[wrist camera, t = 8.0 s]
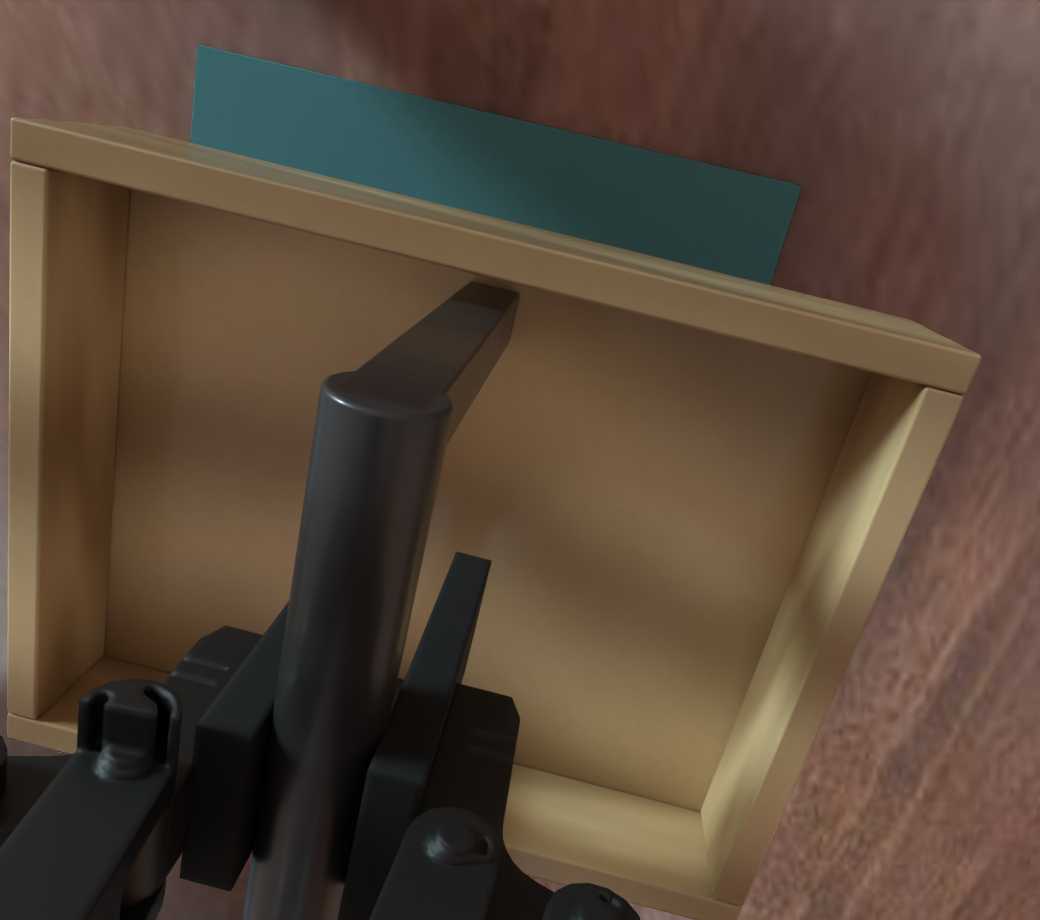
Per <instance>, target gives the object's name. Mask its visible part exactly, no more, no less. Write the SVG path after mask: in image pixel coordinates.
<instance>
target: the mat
mask: <svg viewBox="0 0 1040 920" xmlns="http://www.w3.org/2000/svg"><path fill="white" fill-rule="evenodd" d="M191 143H194V144H198V145H202V146H206V147H210V148H214V149H218V150H222V151H226V152H230V153H234V154H238V155H243V156H247V157H251V158H255V159H259V160H263V161H267V162H271V163H275V164H279V165H283V166H287V167H291V168H295V169H300V170H304V171H308V172H312V173H316V174H320V175H324V176H328V177H332V178H336V179H340V180H344V181H348V182H352V183H356V184H361V185H365V186H369V187H373V188H377V189H381V190H385V191H389V192H393V193H397V194H401V195H405V196H409V197H413V198H418V199H422V200H426V201H430V202H434V203H438V204H442V205H446V206H450V207H454V208H458V209H462V210H466V211H470V212H474V213H479V214H483V215H487V216H491V217H495V218H499V219H503V220H507V221H511V222H515V223H519V224H523V225H527V226H531V227H535V228H540V229H544V230H548V231H552V232H556V233H560V234H564V235H568V236H572V237H576V238H580V239H584V240H588V241H592V242H597V243H601V244H605V245H609V246H613V247H617V248H621V249H625V250H629V251H633V252H637V253H641V254H645V255H649V256H653V257H658V258H662V259H666V260H670V261H674V262H678V263H682V264H686V265H690V266H694V267H698V268H702V269H706V270H710V271H715V272H719V273H723V274H727V275H731V276H735V277H739V278H743V279H747V280H751V281H755V282H759V283H763V284H767V285H770V284H771V281H772V278H773V274H774V271H775V268H776V265H777V262H778V259H779V256H780V253H781V250H782V247H783V244H784V240H785V237H786V234H787V231H788V228H789V225H790V222H791V219H792V216H793V213H794V210H795V207H796V203H797V200H798V197H799V194H800V191H801V188H802V186H801V185H797V184H793V183H789V182H784V181H780V180H776V179H772V178H767V177H763V176H759V175H754V174H750V173H746V172H742V171H737V170H733V169H729V168H725V167H720V166H716V165H712V164H707V163H703V162H699V161H695V160H690V159H686V158H682V157H677V156H673V155H669V154H665V153H660V152H656V151H652V150H647V149H643V148H639V147H635V146H630V145H626V144H622V143H617V142H613V141H609V140H605V139H600V138H596V137H592V136H587V135H583V134H579V133H575V132H570V131H566V130H562V129H557V128H553V127H549V126H545V125H540V124H536V123H532V122H528V121H523V120H519V119H515V118H510V117H506V116H502V115H498V114H493V113H489V112H485V111H480V110H476V109H472V108H468V107H463V106H459V105H455V104H450V103H446V102H442V101H438V100H433V99H429V98H425V97H420V96H416V95H412V94H408V93H403V92H399V91H395V90H390V89H386V88H382V87H378V86H373V85H369V84H365V83H361V82H356V81H352V80H348V79H343V78H339V77H335V76H331V75H326V74H322V73H318V72H313V71H309V70H305V69H301V68H296V67H292V66H288V65H283V64H279V63H275V62H271V61H266V60H262V59H258V58H253V57H249V56H245V55H241V54H236V53H232V52H228V51H223V50H219V49H215V48H211V47H206V46H202V45H197V58H196V72H195V87H194V101H193V115H192V129H191Z"/></svg>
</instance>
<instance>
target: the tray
mask: <svg viewBox="0 0 1040 920" xmlns="http://www.w3.org/2000/svg"><path fill="white" fill-rule="evenodd" d="M10 155H11V158H12V159H14V160H15V161H12V162H11V164H10V317H9V473H8V629H7V711H8V712H9V713H8V715H7V736H8V737H9V738H11V739H15V740H19V741H23V742H26V743H30V744H34V745H38V746H42V747H45V748H49V749H53V750H57V751H60V752H64V753H68V754H74V753H75V751H76V750H77V733H78V710H79V700H80V699H81V698H82V697H83V696H85V695H86V694H87V693H88V692H90V691H91V690H92V689H94V688H97V687H99V686H101V685H104V684H106V683H109V682H112V681H118V680H125V679H131V678H132V679H145V680H153V681H156V682H159V683H162V682H163V681H164V679H165V678H166V677H167V676H168V675H171V672H172V670H173V669H174V668H175V667H176V666H177V665H178V663H179V662H180V661H181V660H184V657H185V655H186V654H187V653H188V652H189V651H190V650H191V649H192V647H193V646H194V645H195V644H196V643H197V642H198V641H199V639H200V638H202V637H204V636H206V635H208V634H210V633H212V632H214V631H216V630H218V629H220V628H222V627H224V626H225V625H226V626H230V627H234V628H238V629H242V630H246V631H249V632H253V633H257V634H261V635H264V633H265V632H266V631H267V629H268V628H269V627H270V625H271V624H272V623H273V621H274V620H275V619H276V617H277V616H278V615H279V613H280V612H281V611H282V609H283V608H284V607H285V605H286V604H287V603H288V601H289V605H288V612H287V619H286V626H285V632H284V639H283V646H282V653H281V660H280V667H279V673H278V680H277V687H276V694H275V701H274V708H273V715H272V721H271V728H270V735H269V742H268V749H267V756H266V762H265V769H264V776H263V783H262V790H261V797H260V804H259V810H258V817H257V824H256V831H255V838H254V845H253V851H252V858H251V865H250V872H249V879H248V886H247V893H246V899H245V906H244V913H243V920H338V915H339V910H340V905H341V900H342V895H343V890H344V885H345V880H346V875H347V870H348V865H349V860H350V855H351V850H352V845H353V840H354V835H355V831H356V826H357V821H358V816H359V811H360V806H361V801H362V796H363V791H364V786H365V781H366V776H367V771H368V768H369V766H370V763H371V761H372V758H373V756H374V753H375V751H376V748H377V746H378V743H379V741H380V738H381V736H382V734H383V733H384V731H385V730H386V728H387V726H388V723H389V719H390V714H391V711H392V709H393V706H394V704H395V701H396V699H397V696H398V694H399V691H400V689H401V687H402V684H403V682H404V679H405V677H406V674H407V672H408V669H409V667H410V664H411V662H412V659H413V657H414V654H415V652H416V649H417V647H418V645H419V642H420V640H421V637H422V635H423V632H424V630H425V627H426V625H427V622H428V620H429V617H430V615H431V612H432V610H433V607H434V605H435V602H436V600H437V598H438V595H439V593H440V590H441V588H442V585H443V583H444V580H445V578H446V575H447V573H448V570H449V568H450V565H451V563H452V560H453V558H454V556H455V553H456V551H457V552H461V553H465V554H469V555H472V556H476V557H480V558H484V559H488V560H492V562H491V566H490V570H489V574H488V578H487V582H486V587H485V591H484V595H483V599H482V603H481V607H480V611H479V616H478V620H477V624H476V628H475V632H474V636H473V640H472V645H471V649H470V653H469V657H468V661H467V665H466V669H465V673H464V676H463V680H462V683H461V684H463V685H467V686H471V687H475V688H479V689H483V690H486V691H490V692H494V693H498V694H502V695H506V696H510V697H512V698H513V701H514V703H515V706H516V709H517V711H518V714H519V716H520V725H519V731H518V737H517V742H516V749H515V756H514V760H513V768H512V774H511V780H510V786H509V792H508V798H507V804H506V811H505V817H504V823H503V840H504V844H505V847H506V850H507V852H508V854H509V855H510V857H511V859H512V860H513V862H514V863H515V864H516V865H517V866H518V867H519V868H520V870H521V871H522V872H523V873H525V874H526V875H529V876H532V877H536V878H540V879H544V880H547V881H551V882H555V883H559V884H563V885H566V886H567V885H569V884H572V883H592V884H595V885H599V886H602V887H605V888H608V889H610V890H611V891H613V892H614V893H616V894H618V895H619V896H621V897H622V898H624V899H625V900H626V901H627V902H630V903H634V904H638V905H642V906H646V907H649V908H653V909H657V910H661V911H664V912H668V913H672V914H676V915H680V916H683V917H687V918H691V919H695V920H737V917H738V915H739V913H740V911H741V908H742V907H741V906H742V905H743V904H744V902H745V900H746V897H747V895H748V893H749V890H750V888H751V886H752V884H753V881H754V879H755V877H756V874H757V872H758V870H759V868H760V865H761V863H762V861H763V858H764V856H765V854H766V852H767V849H768V847H769V845H770V842H771V840H772V838H773V836H774V833H775V831H776V829H777V826H778V824H779V822H780V820H781V817H782V815H783V813H784V810H785V808H786V806H787V804H788V801H789V799H790V797H791V794H792V792H793V790H794V788H795V785H796V783H797V781H798V778H799V776H800V774H801V772H802V769H803V767H804V765H805V762H806V760H807V758H808V756H809V753H810V751H811V749H812V746H813V744H814V742H815V740H816V737H817V735H818V733H819V730H820V728H821V726H822V724H823V721H824V719H825V717H826V714H827V712H828V710H829V708H830V705H831V703H832V701H833V698H834V696H835V694H836V691H837V689H838V687H839V685H840V682H841V680H842V678H843V675H844V673H845V671H846V669H847V666H848V664H849V662H850V659H851V657H852V655H853V653H854V650H855V648H856V646H857V643H858V641H859V639H860V637H861V634H862V632H863V630H864V627H865V625H866V623H867V621H868V618H869V616H870V614H871V611H872V609H873V607H874V605H875V602H876V600H877V598H878V595H879V593H880V591H881V589H882V586H883V584H884V582H885V579H886V577H887V575H888V573H889V570H890V568H891V566H892V563H893V561H894V559H895V557H896V554H897V552H898V550H899V547H900V545H901V543H902V541H903V538H904V536H905V534H906V531H907V529H908V527H909V525H910V522H911V520H912V518H913V515H914V513H915V511H916V509H917V506H918V504H919V502H920V499H921V497H922V495H923V493H924V490H925V488H926V486H927V483H928V481H929V479H930V477H931V474H932V472H933V470H934V467H935V465H936V463H937V461H938V458H939V456H940V454H941V451H942V449H943V447H944V445H945V442H946V440H947V438H948V435H949V433H950V431H951V429H952V426H953V424H954V422H955V419H956V417H957V415H958V413H959V410H960V408H961V406H962V403H963V401H964V396H963V395H962V394H966V393H967V392H968V390H969V387H970V385H971V383H972V381H973V378H974V376H975V374H976V371H977V369H978V367H979V365H980V362H981V360H982V356H980V355H979V354H977V353H975V352H973V351H971V350H969V349H967V348H965V347H963V346H961V345H959V344H957V343H955V342H953V341H951V340H949V339H947V338H945V337H943V336H941V335H939V334H937V333H935V332H933V331H931V330H929V329H927V328H925V327H924V326H922V325H920V324H918V323H916V322H914V321H912V320H910V319H906V318H902V317H898V316H894V315H889V314H885V313H881V312H877V311H873V310H869V309H865V308H861V307H857V306H853V305H849V304H845V303H841V302H837V301H832V300H828V299H824V298H820V297H816V296H812V295H808V294H804V293H800V292H796V291H792V290H788V289H784V288H780V287H776V286H771V285H767V284H763V283H759V282H755V281H751V280H747V279H743V278H739V277H735V276H731V275H727V274H723V273H719V272H715V271H710V270H706V269H702V268H698V267H694V266H690V265H686V264H682V263H678V262H674V261H670V260H666V259H662V258H658V257H653V256H649V255H645V254H641V253H637V252H633V251H629V250H625V249H621V248H617V247H613V246H609V245H605V244H601V243H597V242H592V241H588V240H584V239H580V238H576V237H572V236H568V235H564V234H560V233H556V232H552V231H548V230H544V229H540V228H535V227H531V226H527V225H523V224H519V223H515V222H511V221H507V220H503V219H499V218H495V217H491V216H487V215H483V214H479V213H474V212H470V211H466V210H462V209H458V208H454V207H450V206H446V205H442V204H438V203H434V202H430V201H426V200H422V199H418V198H413V197H409V196H405V195H401V194H397V193H393V192H389V191H385V190H381V189H377V188H373V187H369V186H365V185H361V184H356V183H352V182H348V181H344V180H340V179H336V178H332V177H328V176H324V175H320V174H316V173H312V172H308V171H304V170H300V169H295V168H291V167H287V166H283V165H279V164H275V163H271V162H267V161H263V160H259V159H255V158H251V157H247V156H243V155H238V154H234V153H230V152H226V151H222V150H218V149H214V148H210V147H206V146H202V145H198V144H194V143H190V142H186V141H182V140H177V139H173V138H169V137H165V136H161V135H157V134H153V133H149V132H145V131H141V130H137V129H133V128H129V127H122V126H111V125H98V124H87V123H76V122H65V121H54V120H43V119H32V118H21V117H13V118H11V143H10Z"/></svg>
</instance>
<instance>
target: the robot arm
mask: <svg viewBox="0 0 1040 920" xmlns="http://www.w3.org/2000/svg"><path fill="white" fill-rule="evenodd" d="M491 562H492V560H488V559H484V558H480V557H476V556H472V555H469V554H465V553H461V552H457V551H456V553H455V556H454V558H453V560H452V563H451V565H450V568H449V570H448V573H447V575H446V578H445V580H444V583H443V585H442V588H441V590H440V593H439V595H438V598H437V600H436V602H435V605H434V607H433V610H432V612H431V615H430V617H429V620H428V622H427V625H426V627H425V630H424V632H423V635H422V637H421V640H420V642H419V645H418V647H417V649H416V652H415V654H414V657H413V659H412V662H411V664H410V667H409V669H408V672H407V674H406V677H405V679H404V682H403V684H402V687H401V689H400V691H399V694H398V696H397V699H396V701H395V704H394V706H393V709H392V711H391V714H390V719H389V723H388V726H387V728H386V730H385V731H384V733H383V734H382V736H381V738H380V741H379V743H378V746H377V748H376V751H375V753H374V756H373V758H372V761H371V763H370V766H369V768H368V771H367V776H366V781H365V786H364V791H363V796H362V801H361V806H360V811H359V816H358V821H357V826H356V831H355V835H354V840H353V845H352V850H351V855H350V860H349V865H348V870H347V875H346V880H345V885H344V890H343V895H342V900H341V905H340V910H339V915H338V920H640V917H639V915H638V914H637V913H636V912H635V910H634V909H633V908H632V907H631V906H630V905H629V903H628V902H627V901H626V900H625V899H624V898H622V897H621V896H619V895H618V894H616V893H614V892H613V891H611V890H610V889H608V888H605V887H602V886H599V885H595V884H592V883H572V884H569V885H567V886H565V887H563V888H561V889H559V890H557V891H556V892H555V893H554V892H553V891H551V890H549V889H548V888H546V887H544V886H542V885H541V884H539V883H537V882H536V881H534V880H533V879H532V878H530V877H529V876H527V875H526V874H525V873H523V872H522V871H521V870H520V868H519V867H518V866H517V865H516V864H515V863H514V862H513V860H512V859H511V857H510V855H509V854H508V852H507V850H506V847H505V844H504V840H503V823H504V817H505V811H506V804H507V798H508V792H509V786H510V780H511V774H512V768H513V760H514V756H515V749H516V742H517V737H518V731H519V725H520V716H519V714H518V711H517V709H516V706H515V703H514V701H513V698H512V697H510V696H506V695H502V694H498V693H494V692H490V691H486V690H483V689H479V688H475V687H471V686H467V685H463V684H461V683H462V680H463V676H464V673H465V669H466V665H467V661H468V657H469V653H470V649H471V645H472V640H473V636H474V632H475V628H476V624H477V620H478V616H479V611H480V607H481V603H482V599H483V595H484V591H485V587H486V582H487V578H488V574H489V570H490V566H491ZM288 605H289V601H288V603H287V604H286V605H285V607H284V608H283V609H282V611H281V612H280V613H279V615H278V616H277V617H276V619H275V620H274V621H273V623H272V624H271V625H270V627H269V628H268V629H267V631H266V632H265V633H264V635H261V634H257V633H253V632H249V631H246V630H242V629H238V628H234V627H230V626H226V625H225V626H224V627H222V628H220V629H218V630H216V631H214V632H212V633H210V634H208V635H206V636H204V637H202V638H200V639H199V641H198V642H197V643H196V644H195V645H194V646H193V647H192V649H191V650H190V651H189V652H188V653H187V654H186V655H185V657H184V660H181V661H180V662H179V663H178V665H177V666H176V667H175V668H174V669H173V670H172V672H171V675H168V676H167V677H166V678H165V679H164V681H163V682H162V683H159V682H156V681H153V680H145V679H132V678H131V679H125V680H118V681H112V682H109V683H106V684H104V685H101V686H99V687H97V688H94V689H92V690H91V691H90V692H88V693H87V694H86V695H85V696H83V697H82V698H81V699H80V700H79V710H78V733H77V750H76V751H75V753H74V754H69V755H63V756H7V748H6V745H5V742H4V739H3V737H1V736H0V920H156V918H157V916H158V914H159V912H160V910H161V906H162V903H163V899H164V895H165V887H166V877H167V875H168V874H169V872H170V871H171V869H172V867H173V866H174V864H175V863H176V861H177V859H178V858H179V856H180V855H181V853H182V861H181V871H180V878H182V879H185V880H189V881H193V882H197V883H201V884H204V885H208V886H212V887H216V888H219V889H223V890H227V891H231V890H232V888H233V886H234V884H235V882H236V881H237V879H238V877H239V875H240V873H241V871H242V869H243V867H244V865H245V863H246V862H247V860H248V858H249V856H250V854H251V852H252V850H253V845H254V838H255V831H256V824H257V817H258V810H259V804H260V797H261V790H262V783H263V776H264V769H265V762H266V756H267V749H268V742H269V735H270V728H271V721H272V715H273V708H274V701H275V694H276V687H277V680H278V673H279V667H280V660H281V653H282V646H283V639H284V632H285V626H286V619H287V612H288ZM182 851H183V852H182Z"/></svg>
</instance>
